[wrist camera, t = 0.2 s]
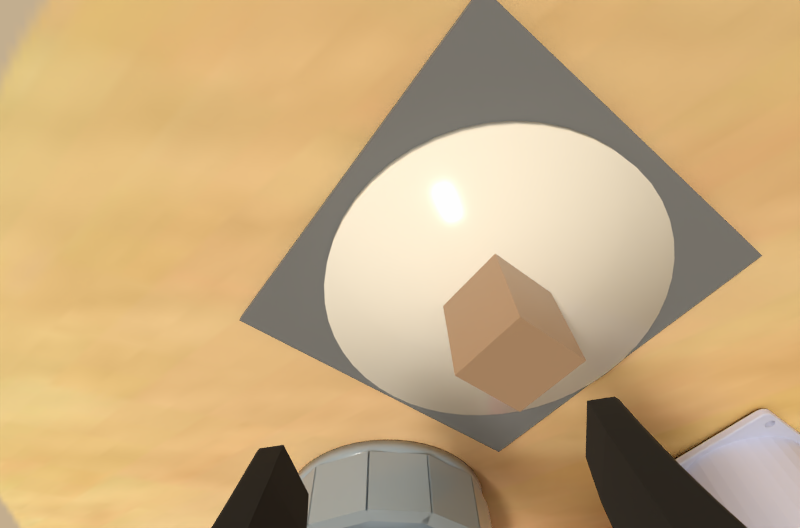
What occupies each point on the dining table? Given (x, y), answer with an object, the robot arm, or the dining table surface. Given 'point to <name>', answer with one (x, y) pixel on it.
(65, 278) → the dining table surface
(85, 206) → the dining table surface
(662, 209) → the lid
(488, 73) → the mat
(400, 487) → the bowl
